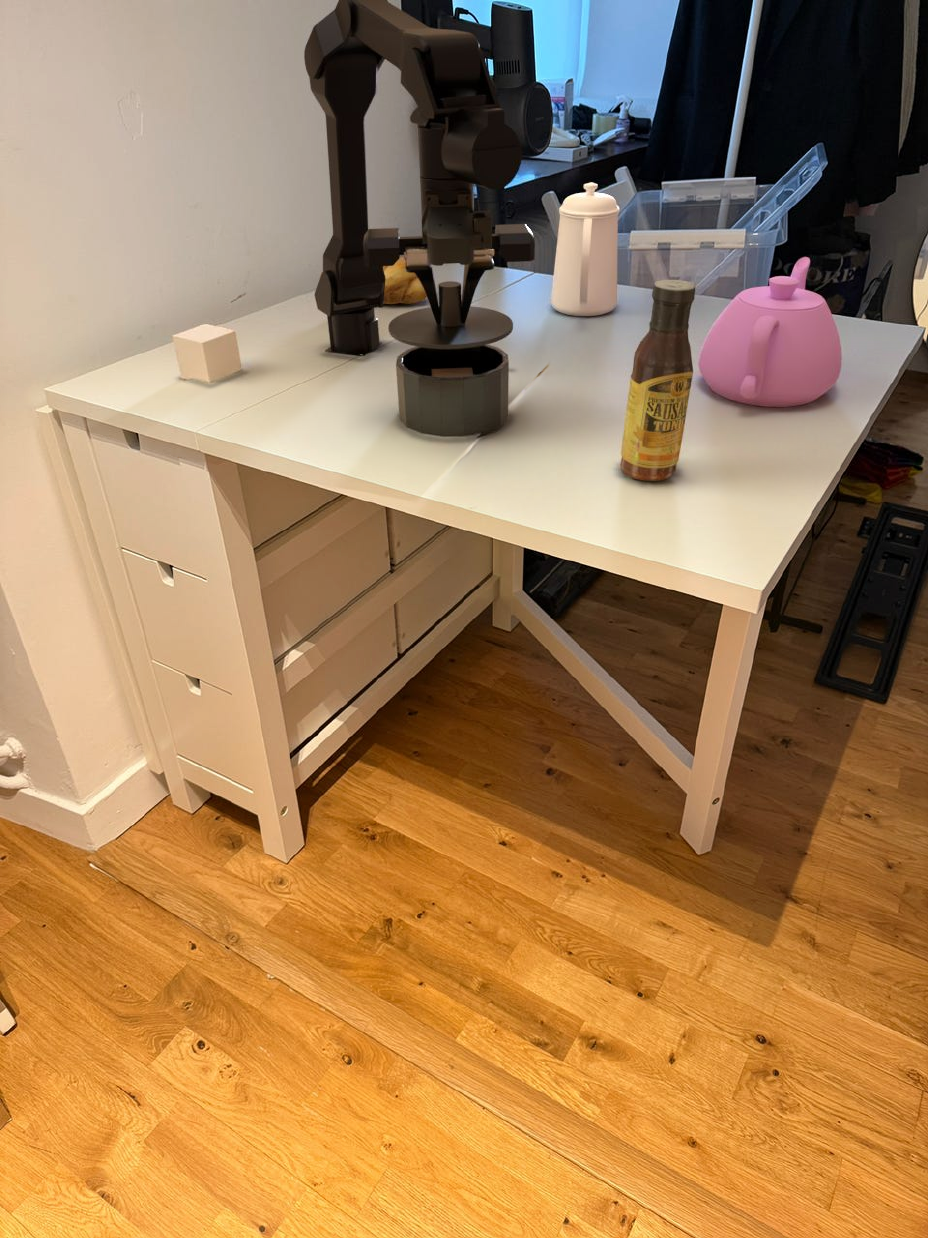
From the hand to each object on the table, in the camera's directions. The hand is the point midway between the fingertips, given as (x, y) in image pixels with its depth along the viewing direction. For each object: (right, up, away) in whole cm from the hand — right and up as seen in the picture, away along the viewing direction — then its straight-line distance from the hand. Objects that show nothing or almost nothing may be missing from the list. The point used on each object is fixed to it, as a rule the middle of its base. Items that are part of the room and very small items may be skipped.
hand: (450, 322), depth 102 cm
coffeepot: (+22, +17, +43) cm, 51 cm away
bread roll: (-11, +20, +49) cm, 54 cm away
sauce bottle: (+22, -19, -6) cm, 29 cm away
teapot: (+42, -3, +14) cm, 44 cm away
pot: (0, -10, +7) cm, 12 cm away
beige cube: (-34, 0, +21) cm, 40 cm away
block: (0, -9, +7) cm, 11 cm away
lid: (0, 0, 0) cm, 1 cm away
